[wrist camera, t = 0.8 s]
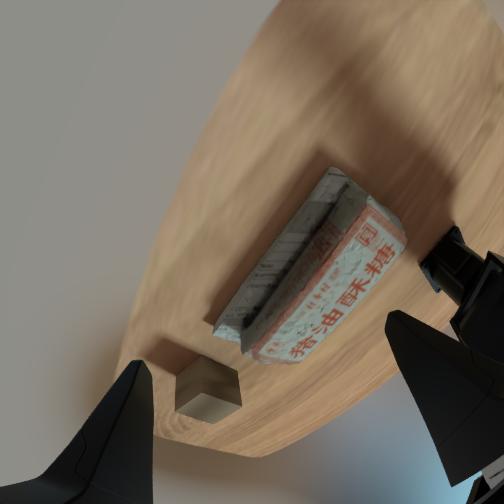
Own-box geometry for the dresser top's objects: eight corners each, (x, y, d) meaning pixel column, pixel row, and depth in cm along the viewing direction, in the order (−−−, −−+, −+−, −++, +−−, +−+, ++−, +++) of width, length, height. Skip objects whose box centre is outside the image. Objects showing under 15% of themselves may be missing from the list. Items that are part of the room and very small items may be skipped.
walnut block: (237, 370, 30) (242, 406, 25) (211, 389, 31) (213, 424, 27) (200, 353, 28) (201, 392, 23) (176, 375, 29) (174, 411, 25)
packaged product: (356, 175, 16) (429, 245, 20) (326, 160, 20) (399, 222, 24) (212, 362, 22) (301, 385, 26) (210, 324, 26) (289, 351, 30)
